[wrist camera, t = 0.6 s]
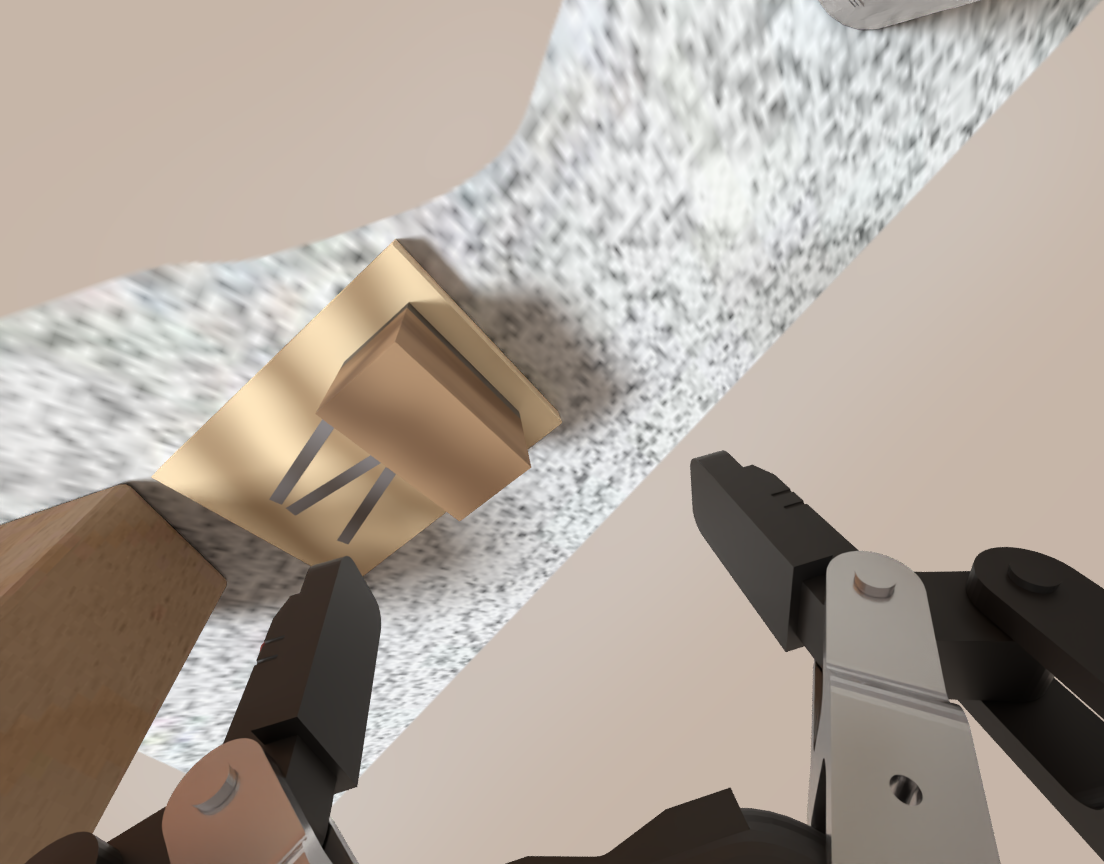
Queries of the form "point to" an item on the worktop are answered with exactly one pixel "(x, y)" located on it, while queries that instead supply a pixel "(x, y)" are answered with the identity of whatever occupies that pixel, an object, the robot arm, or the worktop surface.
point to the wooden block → (87, 655)
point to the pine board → (333, 430)
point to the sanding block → (427, 415)
